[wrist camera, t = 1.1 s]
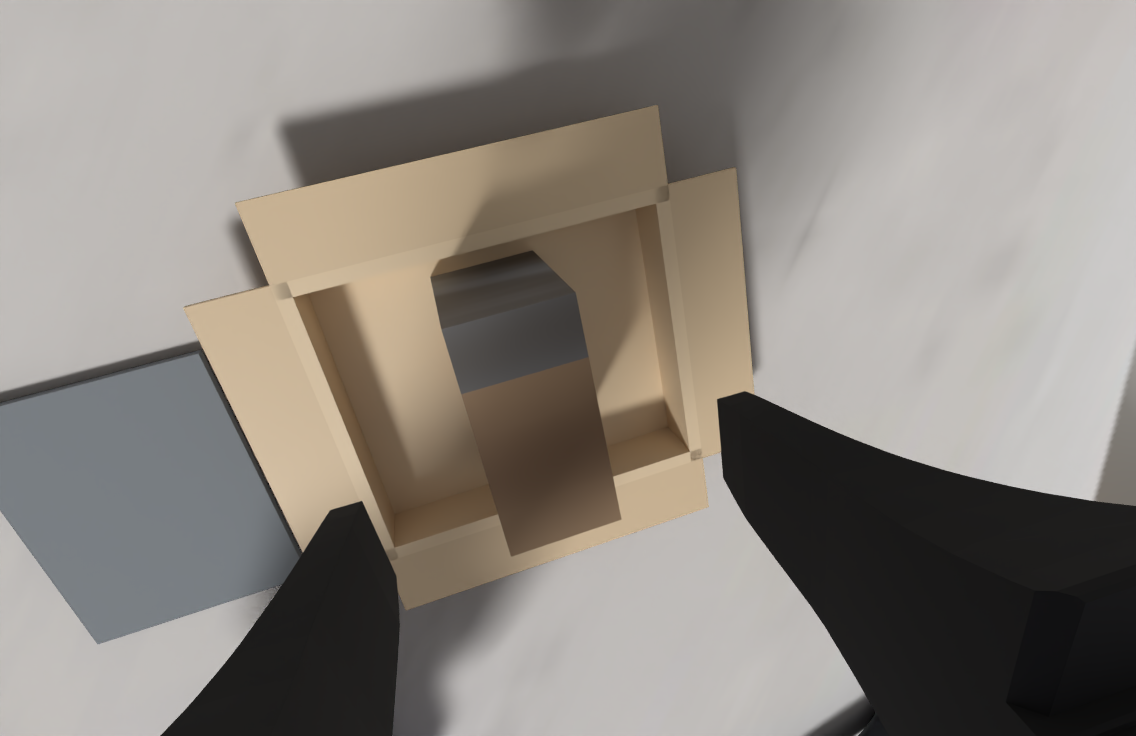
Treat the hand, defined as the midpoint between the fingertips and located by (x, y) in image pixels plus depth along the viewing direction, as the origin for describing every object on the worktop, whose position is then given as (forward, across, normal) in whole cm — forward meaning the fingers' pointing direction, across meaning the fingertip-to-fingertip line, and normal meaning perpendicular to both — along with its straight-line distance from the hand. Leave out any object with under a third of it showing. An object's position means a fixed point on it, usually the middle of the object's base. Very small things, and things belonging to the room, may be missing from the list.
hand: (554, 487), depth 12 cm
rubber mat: (+11, +14, +4) cm, 18 cm away
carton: (+12, 0, +3) cm, 12 cm away
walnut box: (+12, 0, +3) cm, 12 cm away
